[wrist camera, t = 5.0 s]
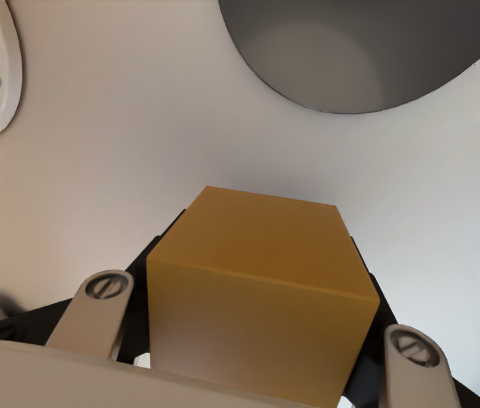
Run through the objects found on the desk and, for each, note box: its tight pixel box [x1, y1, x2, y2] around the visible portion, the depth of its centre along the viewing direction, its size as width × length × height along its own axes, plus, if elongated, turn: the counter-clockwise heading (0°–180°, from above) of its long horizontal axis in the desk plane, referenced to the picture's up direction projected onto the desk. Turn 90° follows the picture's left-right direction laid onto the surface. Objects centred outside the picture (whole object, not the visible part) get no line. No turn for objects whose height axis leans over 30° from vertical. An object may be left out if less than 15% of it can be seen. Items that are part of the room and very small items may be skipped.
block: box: [146, 186, 380, 408], centre depth 9 cm, size 5×5×5 cm
